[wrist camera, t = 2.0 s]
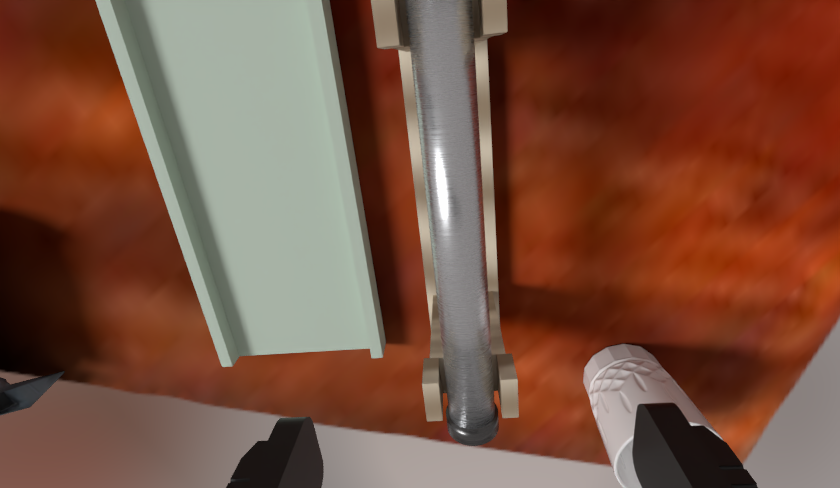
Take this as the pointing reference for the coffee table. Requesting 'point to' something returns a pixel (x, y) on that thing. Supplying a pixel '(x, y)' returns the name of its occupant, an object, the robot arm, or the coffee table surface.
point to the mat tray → (254, 167)
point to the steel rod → (455, 207)
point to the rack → (394, 34)
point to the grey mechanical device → (24, 392)
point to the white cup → (630, 400)
